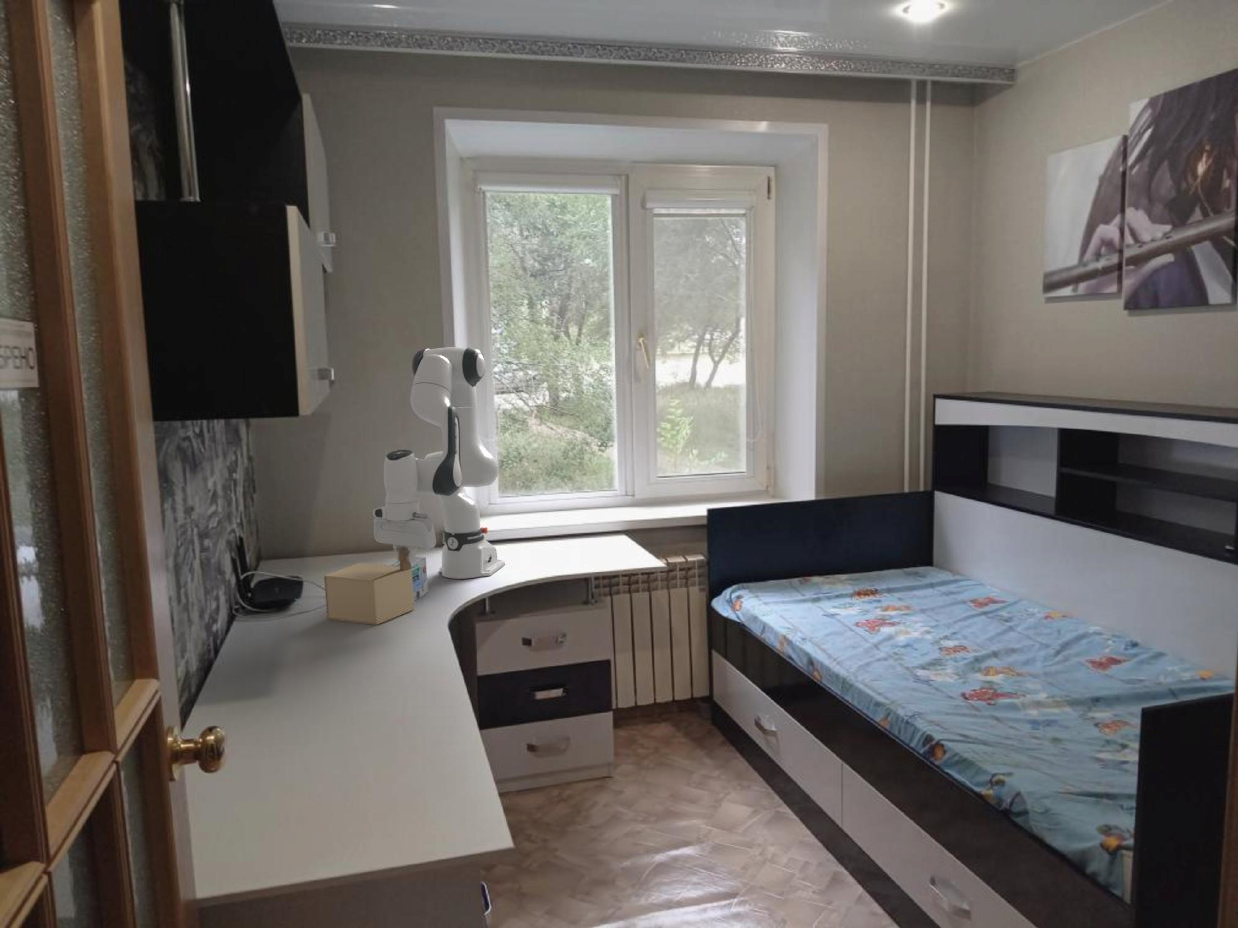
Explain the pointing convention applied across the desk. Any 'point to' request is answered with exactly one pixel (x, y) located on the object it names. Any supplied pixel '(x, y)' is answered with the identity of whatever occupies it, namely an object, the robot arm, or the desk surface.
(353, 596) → the carton
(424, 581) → the light bulb box
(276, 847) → the desk surface
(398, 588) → the side flap
